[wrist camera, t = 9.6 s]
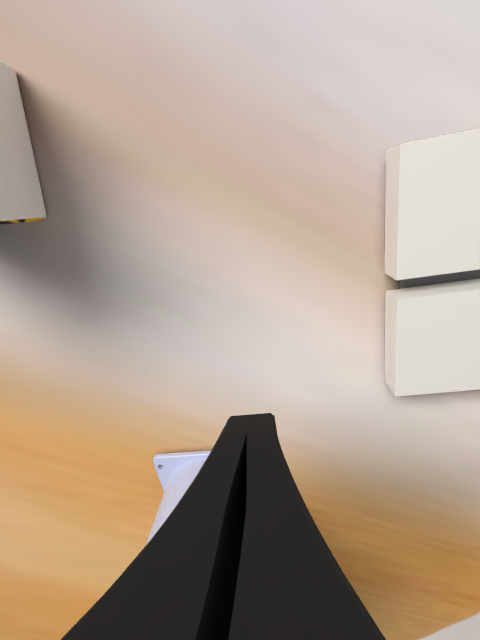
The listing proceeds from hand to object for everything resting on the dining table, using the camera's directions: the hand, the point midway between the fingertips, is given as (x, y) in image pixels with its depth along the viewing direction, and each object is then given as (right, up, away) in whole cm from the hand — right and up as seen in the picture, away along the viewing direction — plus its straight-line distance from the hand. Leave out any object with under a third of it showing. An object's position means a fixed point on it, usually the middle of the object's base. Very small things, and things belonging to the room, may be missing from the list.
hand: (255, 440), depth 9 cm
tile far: (+8, +2, +8) cm, 11 cm away
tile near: (+7, +9, +5) cm, 12 cm away
